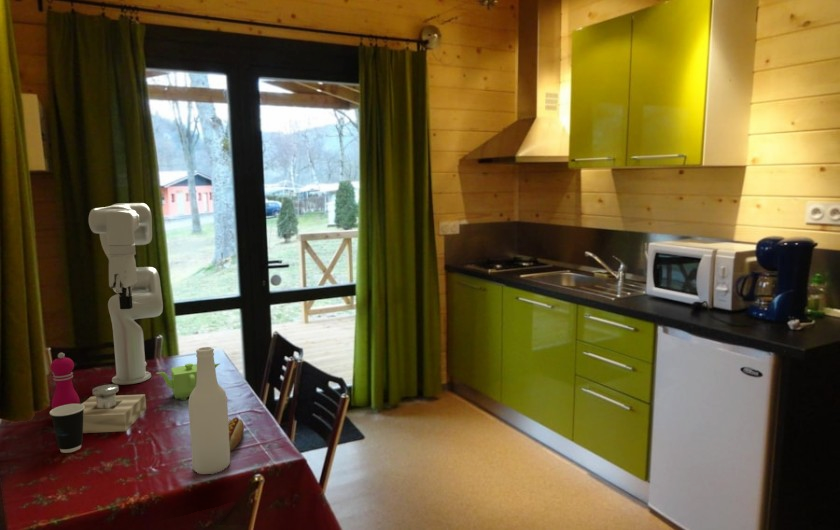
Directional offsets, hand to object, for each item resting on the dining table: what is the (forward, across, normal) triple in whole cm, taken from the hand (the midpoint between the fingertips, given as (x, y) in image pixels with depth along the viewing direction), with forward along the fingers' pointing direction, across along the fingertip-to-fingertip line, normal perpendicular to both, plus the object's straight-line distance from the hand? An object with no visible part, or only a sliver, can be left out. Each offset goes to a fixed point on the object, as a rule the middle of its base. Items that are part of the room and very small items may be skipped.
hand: (126, 308), depth 181 cm
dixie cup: (+31, +32, -4) cm, 45 cm away
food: (+32, +33, +38) cm, 59 cm away
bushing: (+31, +14, -2) cm, 34 cm away
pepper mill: (+31, +9, -16) cm, 36 cm away
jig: (+31, +14, -2) cm, 34 cm away
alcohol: (+31, +47, +36) cm, 67 cm away
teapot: (+31, -6, +16) cm, 36 cm away
